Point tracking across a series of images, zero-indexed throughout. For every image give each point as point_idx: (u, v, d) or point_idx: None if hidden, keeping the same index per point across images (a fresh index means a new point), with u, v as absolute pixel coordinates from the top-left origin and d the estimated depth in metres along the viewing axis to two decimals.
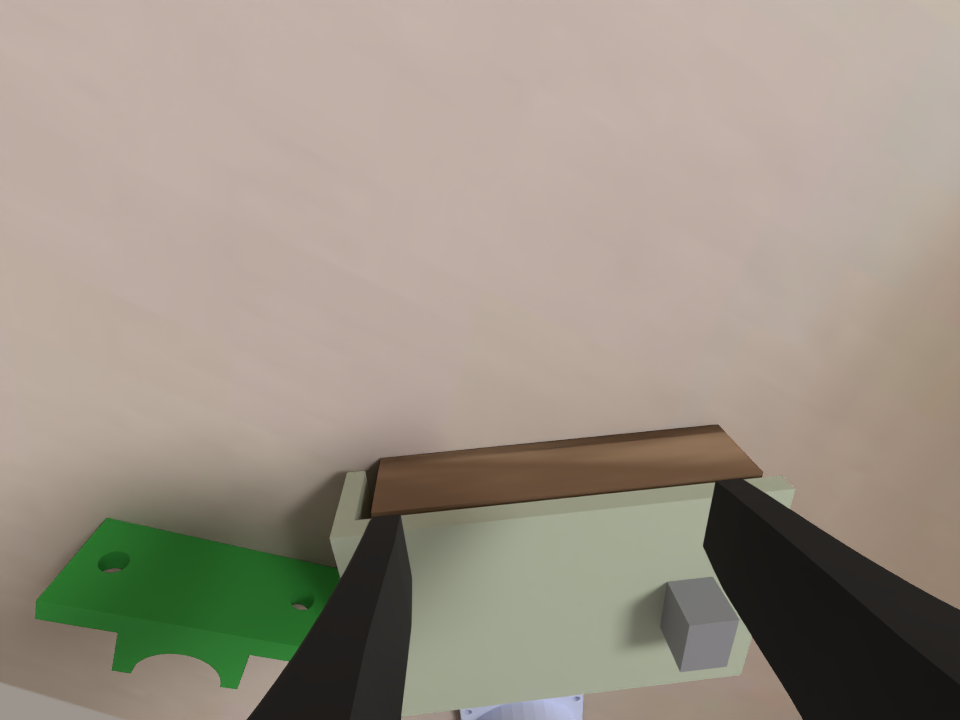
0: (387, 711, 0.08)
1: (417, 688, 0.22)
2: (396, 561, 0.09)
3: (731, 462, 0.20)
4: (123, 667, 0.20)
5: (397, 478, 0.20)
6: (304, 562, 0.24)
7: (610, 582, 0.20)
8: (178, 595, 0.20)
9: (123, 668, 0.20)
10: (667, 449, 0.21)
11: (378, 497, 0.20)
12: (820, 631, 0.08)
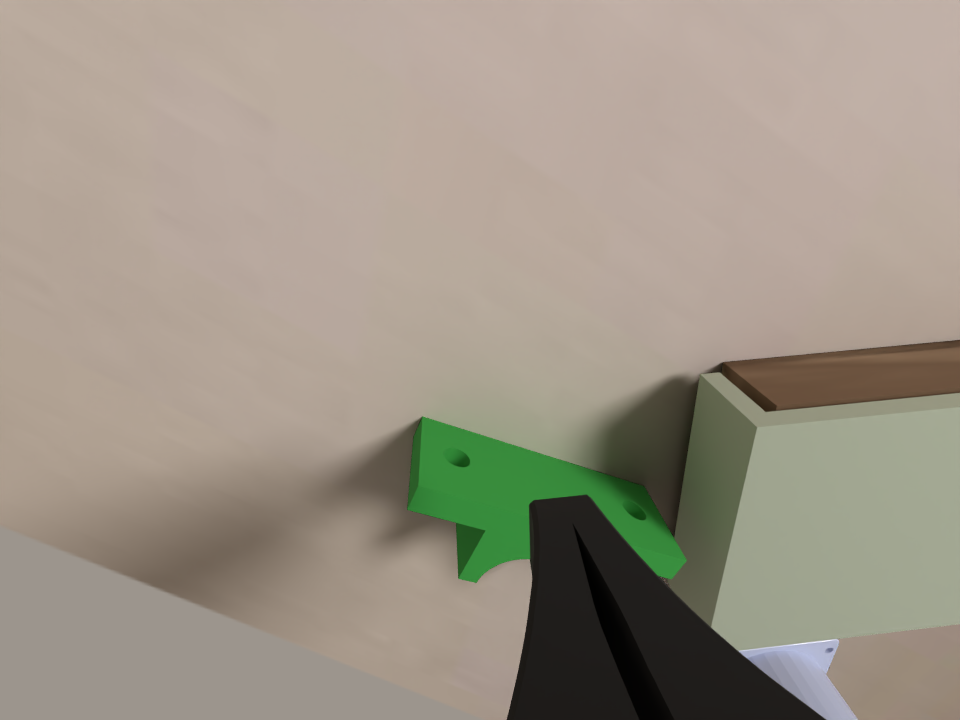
0: None
1: (759, 617, 0.20)
2: None
3: None
4: (472, 575, 0.18)
5: (767, 377, 0.18)
6: (610, 476, 0.22)
7: None
8: (531, 495, 0.18)
9: (471, 576, 0.18)
10: None
11: (767, 393, 0.17)
12: (614, 655, 0.08)
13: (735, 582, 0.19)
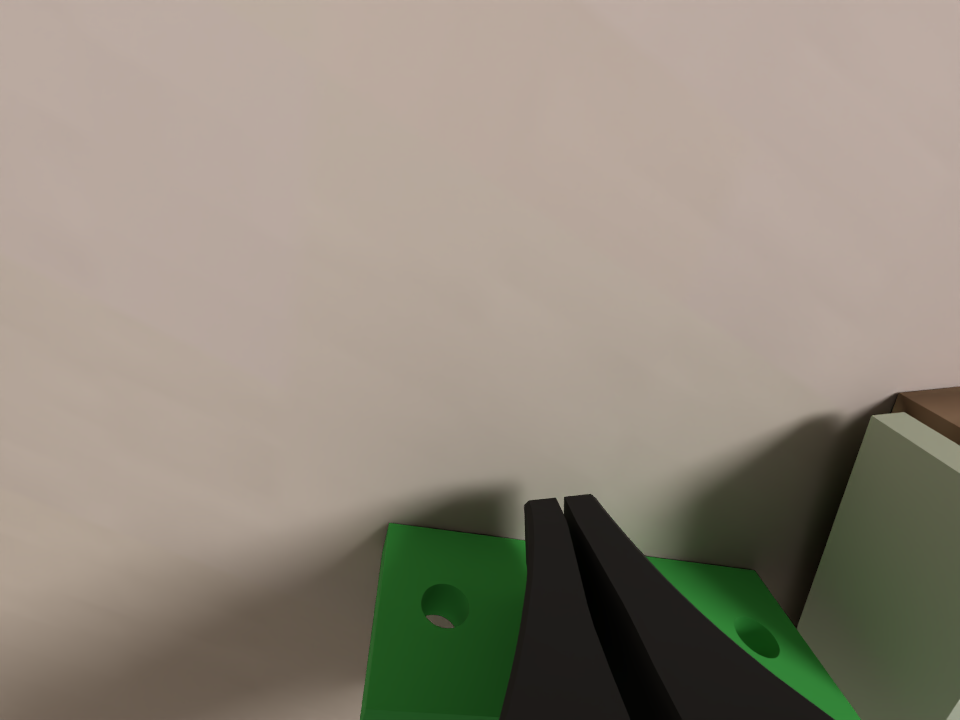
0: None
1: None
2: None
3: None
4: None
5: None
6: (702, 568, 0.14)
7: None
8: None
9: None
10: None
11: None
12: (620, 655, 0.08)
13: None
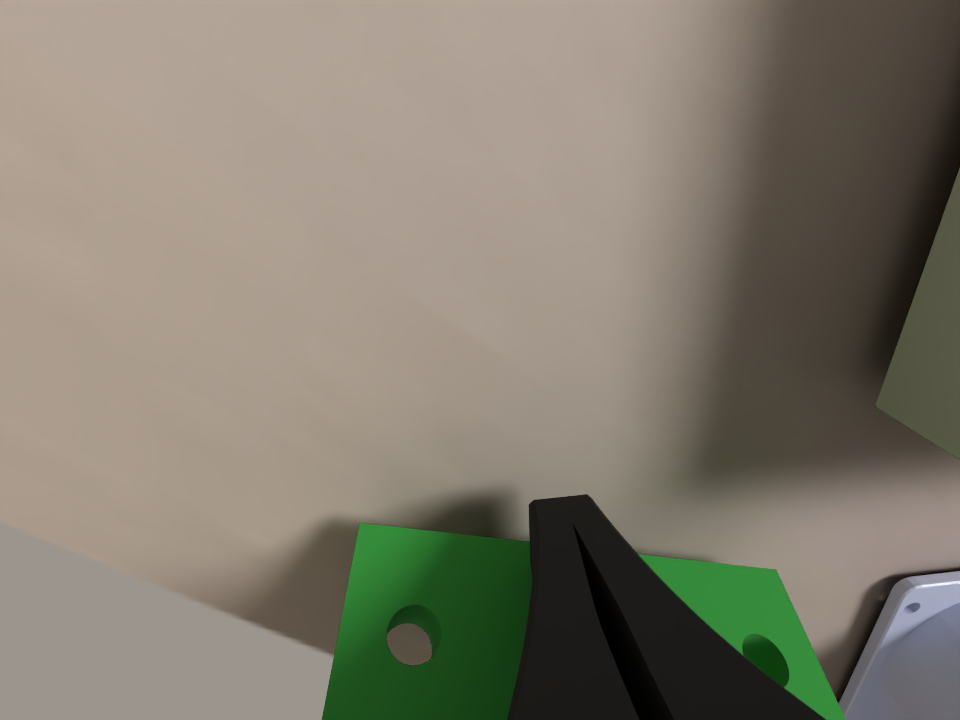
0: None
1: None
2: None
3: None
4: None
5: None
6: (716, 570, 0.12)
7: None
8: None
9: None
10: None
11: None
12: (614, 655, 0.08)
13: None
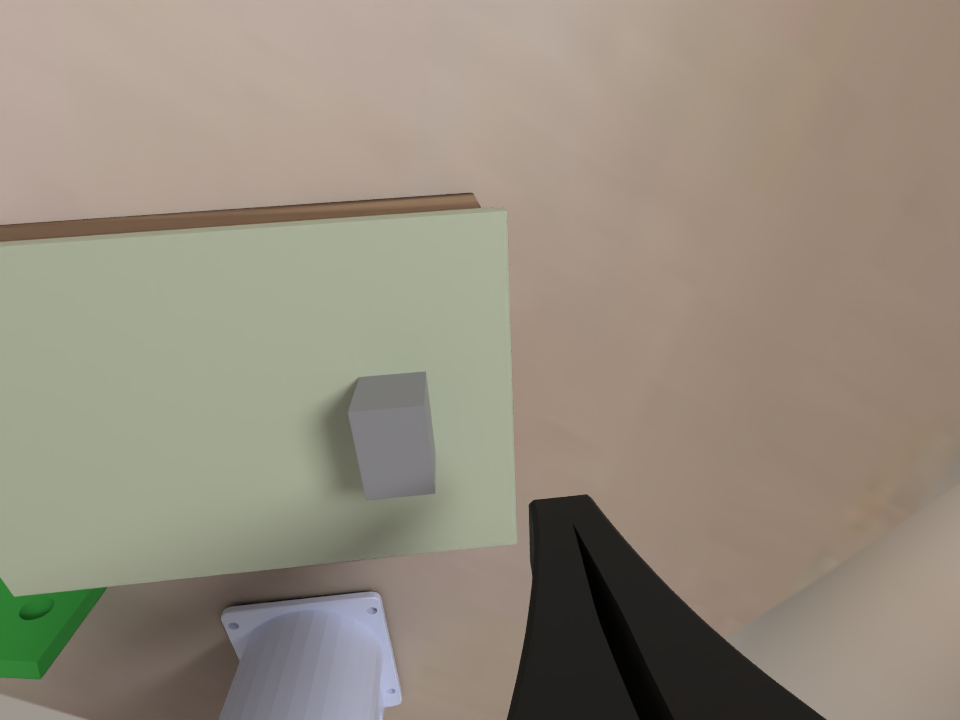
0: None
1: (48, 547, 0.16)
2: None
3: (447, 204, 0.14)
4: None
5: None
6: None
7: (271, 373, 0.14)
8: None
9: None
10: (378, 204, 0.15)
11: None
12: (615, 655, 0.08)
13: None
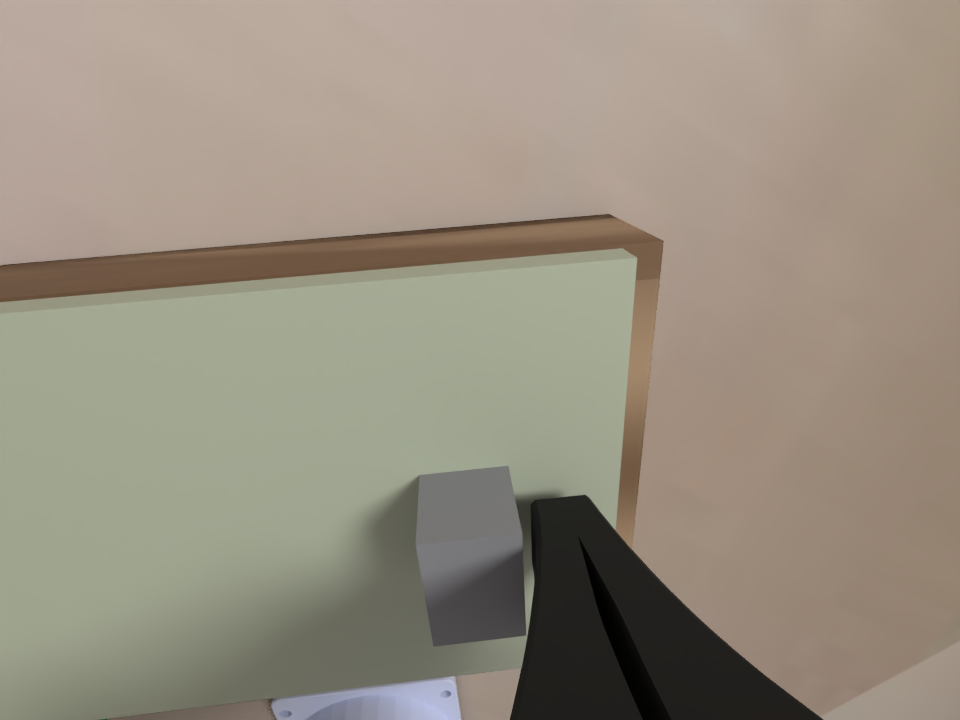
0: None
1: (16, 680, 0.12)
2: None
3: (608, 237, 0.10)
4: None
5: None
6: None
7: (303, 474, 0.10)
8: None
9: None
10: (503, 234, 0.12)
11: None
12: None
13: None
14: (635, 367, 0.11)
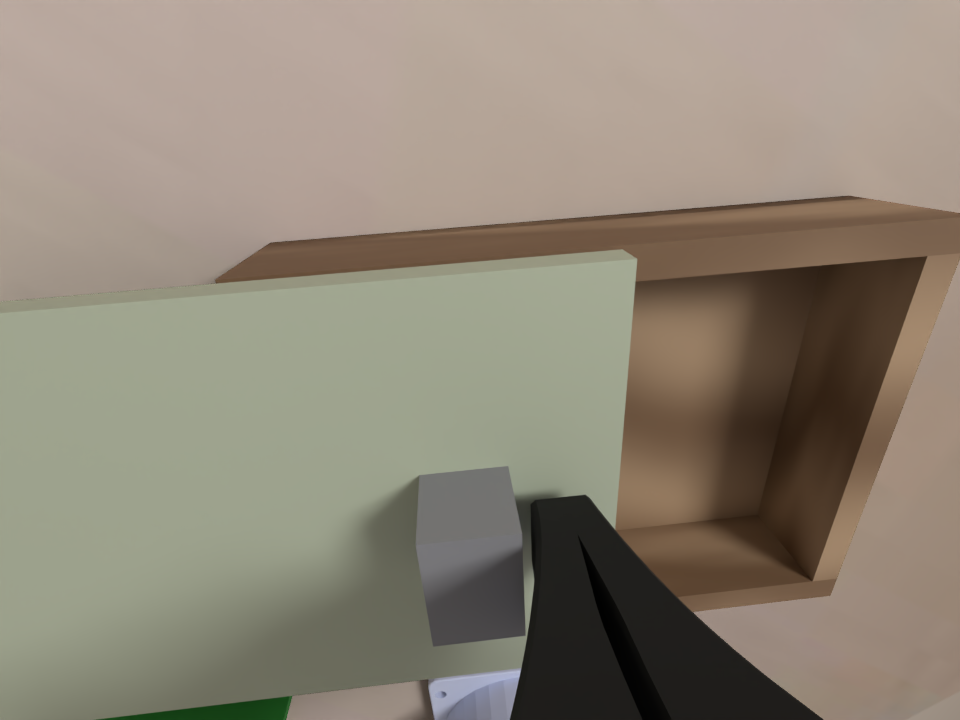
0: None
1: (15, 680, 0.12)
2: None
3: (904, 213, 0.11)
4: None
5: (288, 253, 0.11)
6: None
7: (303, 473, 0.10)
8: None
9: None
10: (775, 212, 0.12)
11: (241, 267, 0.10)
12: None
13: None
14: (913, 341, 0.11)
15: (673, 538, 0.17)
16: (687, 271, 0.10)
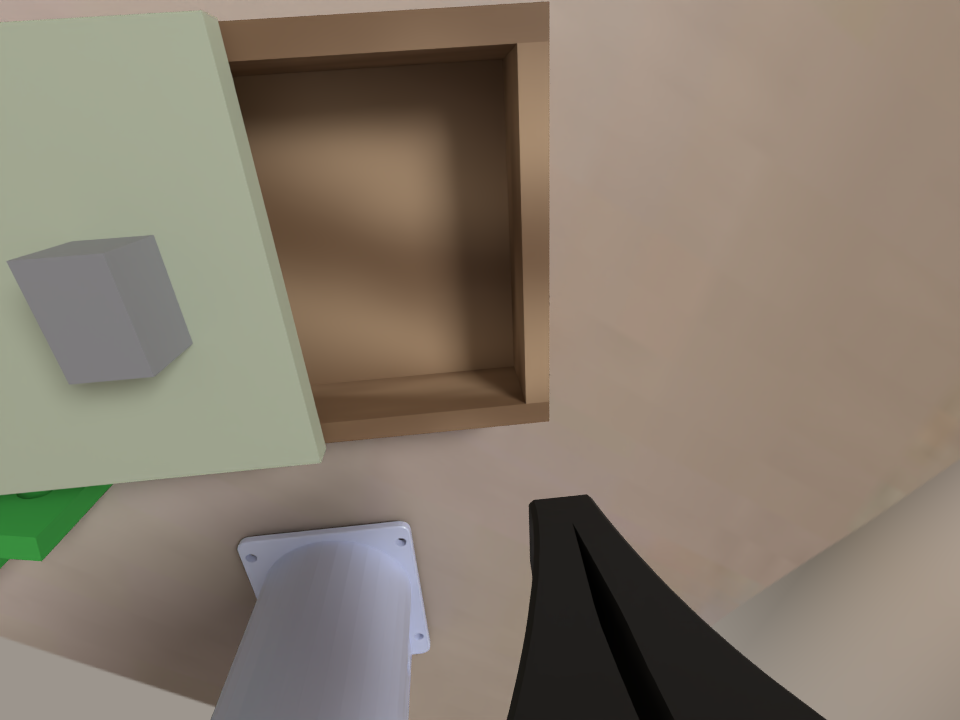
0: None
1: None
2: None
3: None
4: None
5: None
6: None
7: None
8: None
9: None
10: None
11: None
12: (614, 655, 0.08)
13: None
14: (535, 136, 0.13)
15: (426, 382, 0.18)
16: (294, 52, 0.11)
